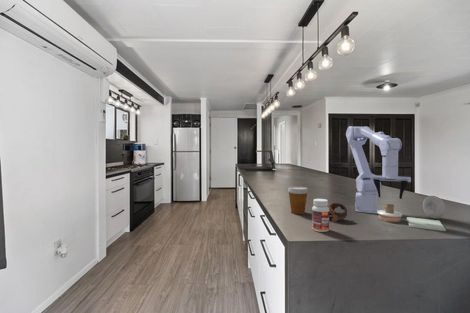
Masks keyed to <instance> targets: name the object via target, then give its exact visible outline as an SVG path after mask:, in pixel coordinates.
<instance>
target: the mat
mask: <svg viewBox="0 0 470 313" xmlns="http://www.w3.org/2000/svg"><path fill="white" fill-rule="evenodd" d="M406 222H407V224H408V227H410V228H416V229H424V230H425V229H426V230H432V231H440V232H447V229H446V228H445V226H444V224H442V222H441V221H440V220H438V219H429V218H420V217H419V218H418V217H410V216H407V217H406Z"/></svg>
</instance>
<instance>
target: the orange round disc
mask: <svg viewBox="0 0 470 313" xmlns="http://www.w3.org/2000/svg"><path fill="white" fill-rule="evenodd" d="M401 218H402V216H400V217H391V216H384V215H380V214H378V220H380V221H383V222H387V223H401V220H402V219H401Z"/></svg>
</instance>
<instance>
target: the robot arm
mask: <svg viewBox="0 0 470 313" xmlns="http://www.w3.org/2000/svg"><path fill="white" fill-rule="evenodd" d="M345 136H346V140H347V143H348V144H349V146H350V149H351V150H350V151H351V152H352V156H353V159H354V163H355V165H356V168H357V172H358V174H359V175H358V176H357V177H356V179H355V182H356V184H355V186H356V190H357V192H355V203H354V208H355V210H354V211H355V212H358V213H366V214H376V215H377V214H378V213H377V211H378V210H379V209H378V198H381V190H382V183H381V181H382V182H384V181H385V182H399V196H398V198H399V199H400V200H402V199H403V195H404V191H405V190H406V188H407V185H408V184H409V183H411V182H412V178H411V176H400V175H399V152H400V150H401V149H402V146H403V143H402V141H401V139H400V138H399V137H395V138H392V137H391V135H386V134H385V133H384V132H383V131H378V132H375V131H374V130H372V129H371V128H370V127H369V126H366V125H365V126H351V125H350V126H348V127H347V129H346V131H345ZM368 139H369V140H370V141H371V143H372V144H374V145H376V146H377V147H379V150H380V154H381V156H382V171H381V172H382V174H381V175H377V174H374V173H372V171H371V169H370V166H369V163H368V159H367V157H366V154H365V151H364V149H363V145H365V144H366V142H367V140H368ZM378 215H379V214H378Z"/></svg>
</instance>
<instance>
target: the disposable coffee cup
mask: <svg viewBox="0 0 470 313" xmlns="http://www.w3.org/2000/svg"><path fill="white" fill-rule="evenodd" d="M287 191H288V196H289V205H290V206H289V207H290V212H291V214H294V215H304V214H305V213H306V212H305V211H306V205H307V198H308V193H309V190H308V188H307V187H305V186H289V187H288V189H287Z"/></svg>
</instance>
